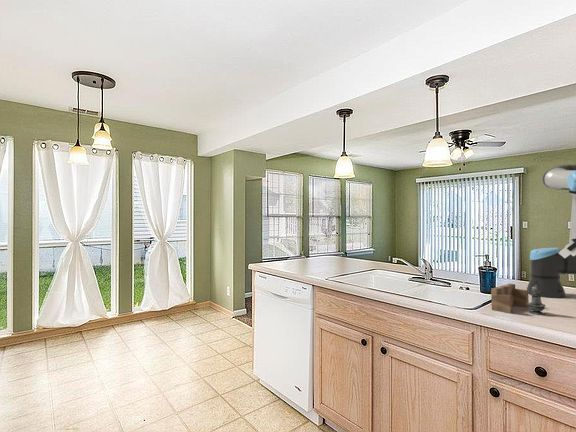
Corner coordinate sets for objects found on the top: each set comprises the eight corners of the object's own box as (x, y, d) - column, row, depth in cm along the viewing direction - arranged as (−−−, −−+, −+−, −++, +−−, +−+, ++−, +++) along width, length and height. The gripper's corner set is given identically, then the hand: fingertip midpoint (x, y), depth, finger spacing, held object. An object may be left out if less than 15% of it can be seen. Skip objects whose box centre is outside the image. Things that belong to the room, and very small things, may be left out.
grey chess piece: (537, 310, 134) (537, 282, 135) (549, 315, 129) (548, 285, 129) (524, 311, 134) (523, 282, 134) (535, 315, 128) (534, 285, 129)
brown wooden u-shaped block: (510, 303, 147) (510, 283, 147) (528, 306, 141) (528, 285, 141) (491, 309, 137) (491, 288, 137) (510, 313, 131) (509, 291, 132)
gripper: (627, 219, 102) (565, 264, 115) (642, 219, 114) (584, 259, 127) (604, 204, 107) (546, 249, 120) (621, 204, 118) (567, 245, 131)
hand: (566, 254), depth 123 cm, fingers open, 9 cm apart
